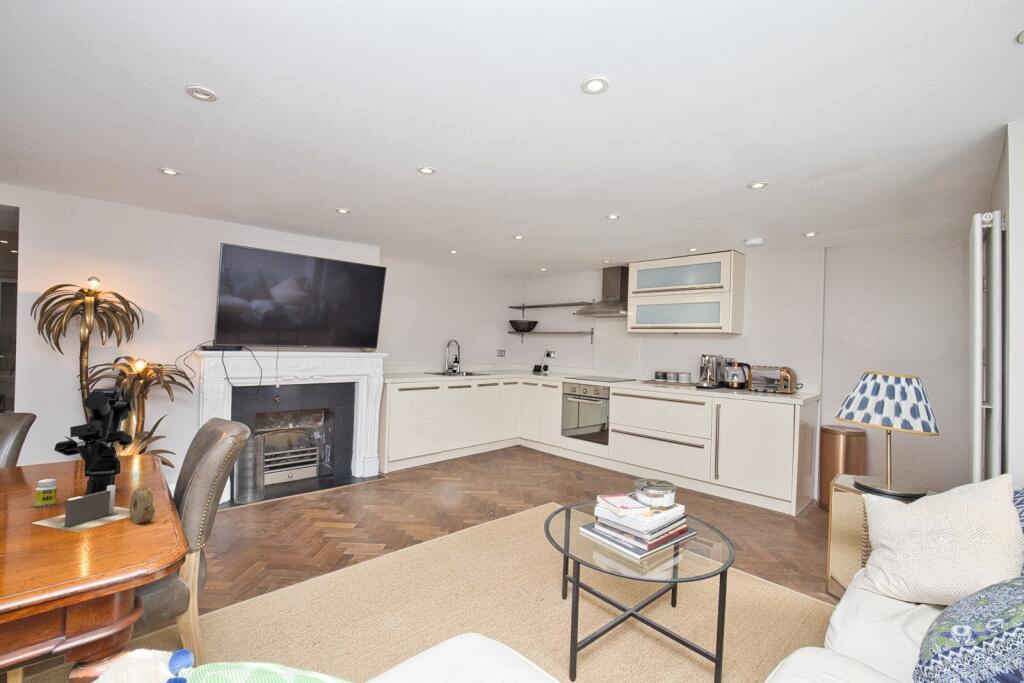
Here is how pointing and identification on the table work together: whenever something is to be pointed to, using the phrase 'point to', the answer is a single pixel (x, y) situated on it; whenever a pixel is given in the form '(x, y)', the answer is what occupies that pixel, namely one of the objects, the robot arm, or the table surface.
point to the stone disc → (142, 505)
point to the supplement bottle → (45, 493)
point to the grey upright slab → (90, 506)
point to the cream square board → (60, 522)
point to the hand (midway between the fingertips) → (88, 468)
